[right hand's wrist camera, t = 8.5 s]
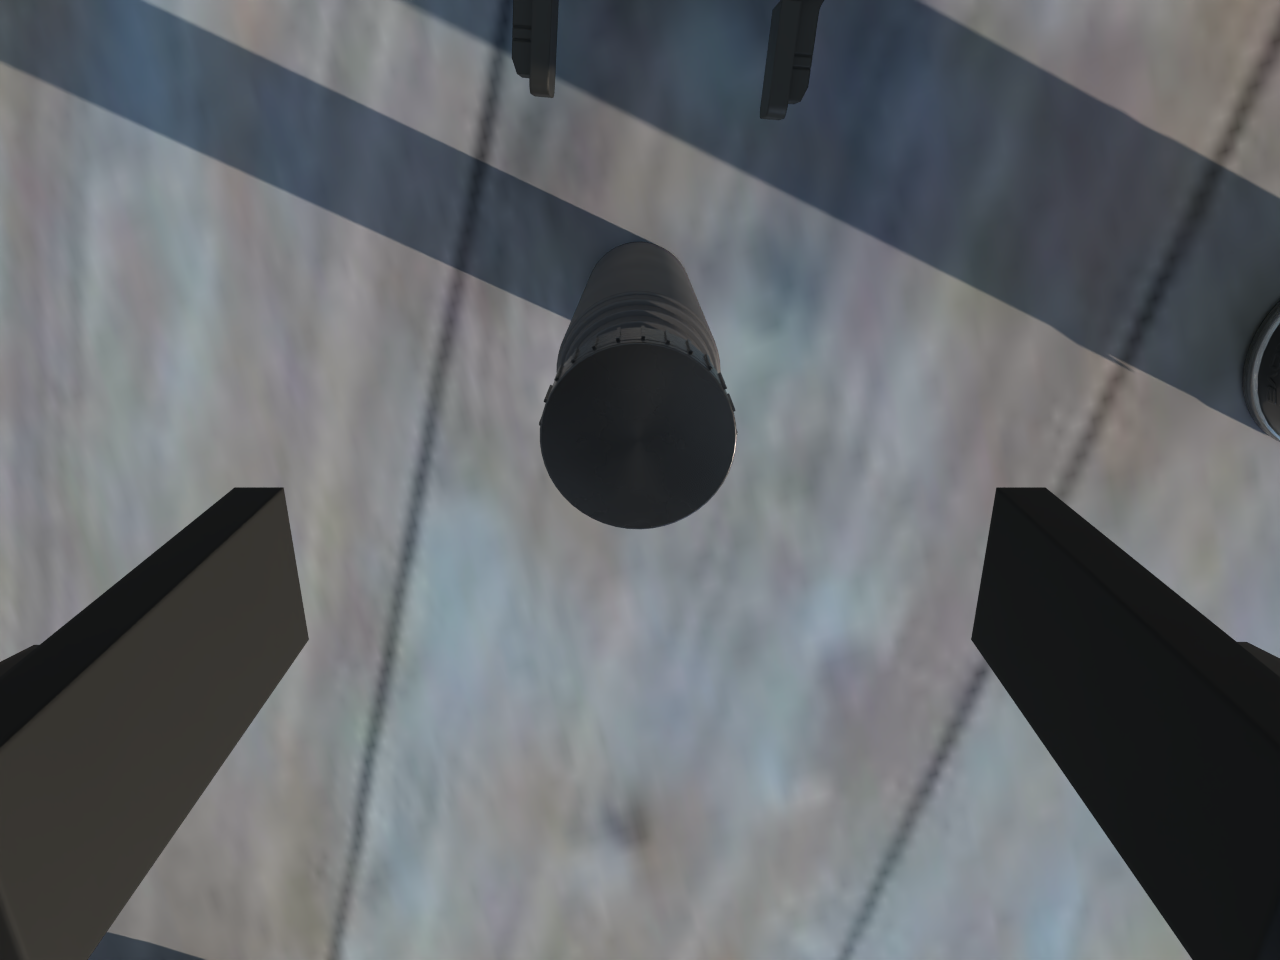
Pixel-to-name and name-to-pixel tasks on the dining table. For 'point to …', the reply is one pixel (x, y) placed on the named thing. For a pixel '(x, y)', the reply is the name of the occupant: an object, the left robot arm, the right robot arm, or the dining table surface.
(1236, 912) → the right robot arm
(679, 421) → the cap
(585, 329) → the bottle
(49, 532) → the dining table surface
